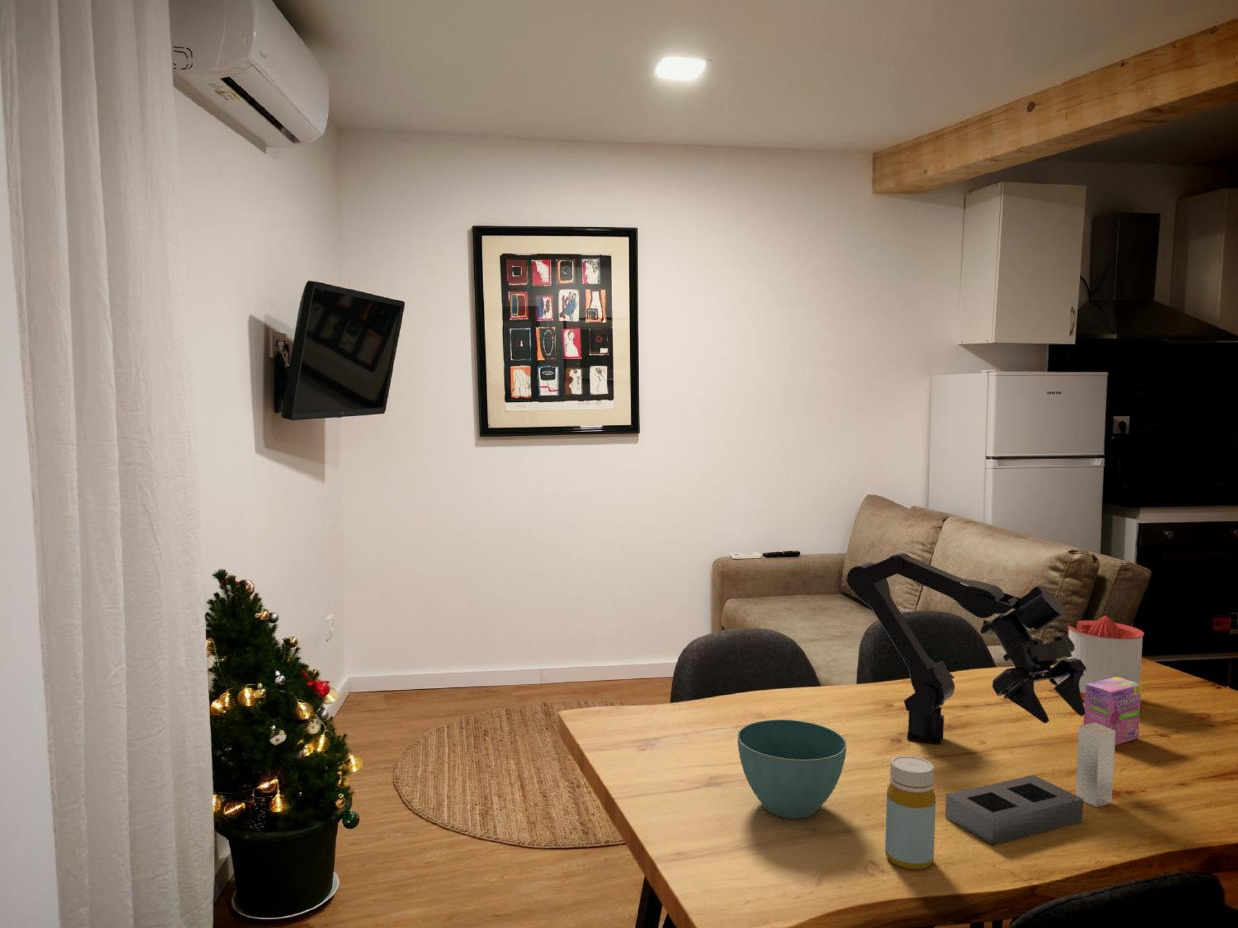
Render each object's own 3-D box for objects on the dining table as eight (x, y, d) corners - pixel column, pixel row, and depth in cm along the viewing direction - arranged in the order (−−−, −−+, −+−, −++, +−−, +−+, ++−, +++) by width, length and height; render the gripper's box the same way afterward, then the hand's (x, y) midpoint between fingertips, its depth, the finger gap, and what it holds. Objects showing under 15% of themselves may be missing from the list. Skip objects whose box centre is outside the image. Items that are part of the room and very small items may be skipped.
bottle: (877, 848, 136) (880, 755, 135) (921, 846, 137) (924, 753, 135) (895, 872, 129) (898, 774, 128) (941, 870, 130) (944, 773, 129)
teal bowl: (731, 783, 159) (732, 717, 158) (832, 785, 158) (833, 719, 157) (742, 832, 141) (743, 758, 140) (856, 834, 140) (858, 760, 139)
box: (1108, 748, 176) (1110, 691, 175) (1081, 738, 181) (1084, 683, 180) (1139, 739, 181) (1142, 683, 180) (1113, 730, 186) (1115, 675, 185)
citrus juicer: (1071, 682, 217) (1075, 603, 216) (1149, 700, 204) (1154, 616, 203) (1046, 696, 207) (1049, 613, 205) (1127, 716, 194) (1131, 628, 192)
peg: (1095, 807, 150) (1099, 733, 149) (1075, 797, 154) (1078, 725, 153) (1111, 802, 152) (1115, 730, 151) (1091, 793, 156) (1094, 722, 155)
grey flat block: (992, 845, 137) (993, 821, 137) (945, 817, 146) (946, 794, 146) (1082, 821, 145) (1083, 798, 145) (1032, 796, 154) (1033, 774, 154)
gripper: (1007, 625, 158) (1056, 705, 149) (1079, 616, 165) (1131, 690, 156) (972, 656, 166) (1017, 733, 156) (1043, 646, 173) (1090, 719, 164)
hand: (1065, 718), depth 158 cm, fingers open, 9 cm apart
